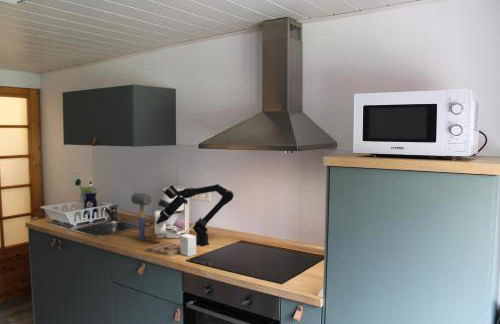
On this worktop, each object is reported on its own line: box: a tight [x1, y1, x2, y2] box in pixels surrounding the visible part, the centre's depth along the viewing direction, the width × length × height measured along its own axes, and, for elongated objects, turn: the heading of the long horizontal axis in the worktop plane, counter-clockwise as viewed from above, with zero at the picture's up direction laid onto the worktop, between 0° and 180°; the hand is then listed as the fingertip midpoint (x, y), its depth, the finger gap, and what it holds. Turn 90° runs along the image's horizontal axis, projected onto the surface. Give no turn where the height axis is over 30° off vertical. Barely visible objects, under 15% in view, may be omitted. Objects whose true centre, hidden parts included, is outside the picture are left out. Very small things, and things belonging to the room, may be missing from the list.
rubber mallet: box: [130, 192, 153, 241], centre depth 255 cm, size 12×8×30 cm, turn 54°
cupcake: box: [173, 218, 184, 228], centre depth 272 cm, size 9×9×10 cm
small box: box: [179, 233, 197, 257], centre depth 225 cm, size 8×6×10 cm
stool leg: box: [154, 209, 167, 238], centre depth 245 cm, size 7×7×16 cm
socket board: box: [145, 241, 181, 257], centre depth 233 cm, size 18×15×2 cm
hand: (157, 222), depth 245 cm, fingers closed on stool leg, 6 cm apart
